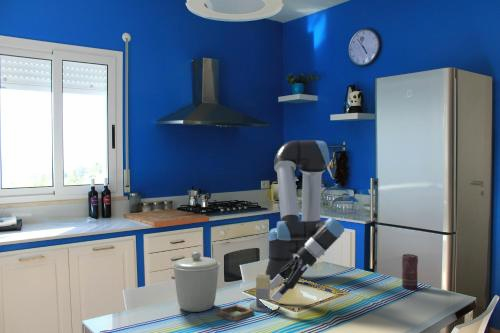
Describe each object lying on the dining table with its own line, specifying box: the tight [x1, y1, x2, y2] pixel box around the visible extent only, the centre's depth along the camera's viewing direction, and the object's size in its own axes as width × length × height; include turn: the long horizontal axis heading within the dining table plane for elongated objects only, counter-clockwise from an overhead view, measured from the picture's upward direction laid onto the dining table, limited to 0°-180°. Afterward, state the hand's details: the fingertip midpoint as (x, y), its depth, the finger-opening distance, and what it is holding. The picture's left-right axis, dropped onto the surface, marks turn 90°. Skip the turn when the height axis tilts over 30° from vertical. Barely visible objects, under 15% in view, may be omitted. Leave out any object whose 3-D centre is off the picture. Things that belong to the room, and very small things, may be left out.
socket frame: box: [216, 304, 255, 322], centre depth 157 cm, size 9×9×2 cm
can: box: [401, 253, 419, 291], centre depth 188 cm, size 6×6×14 cm
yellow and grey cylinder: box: [255, 274, 271, 308], centre depth 165 cm, size 5×5×11 cm
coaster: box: [249, 301, 275, 313], centre depth 165 cm, size 11×11×1 cm
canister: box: [171, 251, 221, 313], centre depth 165 cm, size 18×18×21 cm
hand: (271, 293), depth 165 cm, fingers open, 13 cm apart
